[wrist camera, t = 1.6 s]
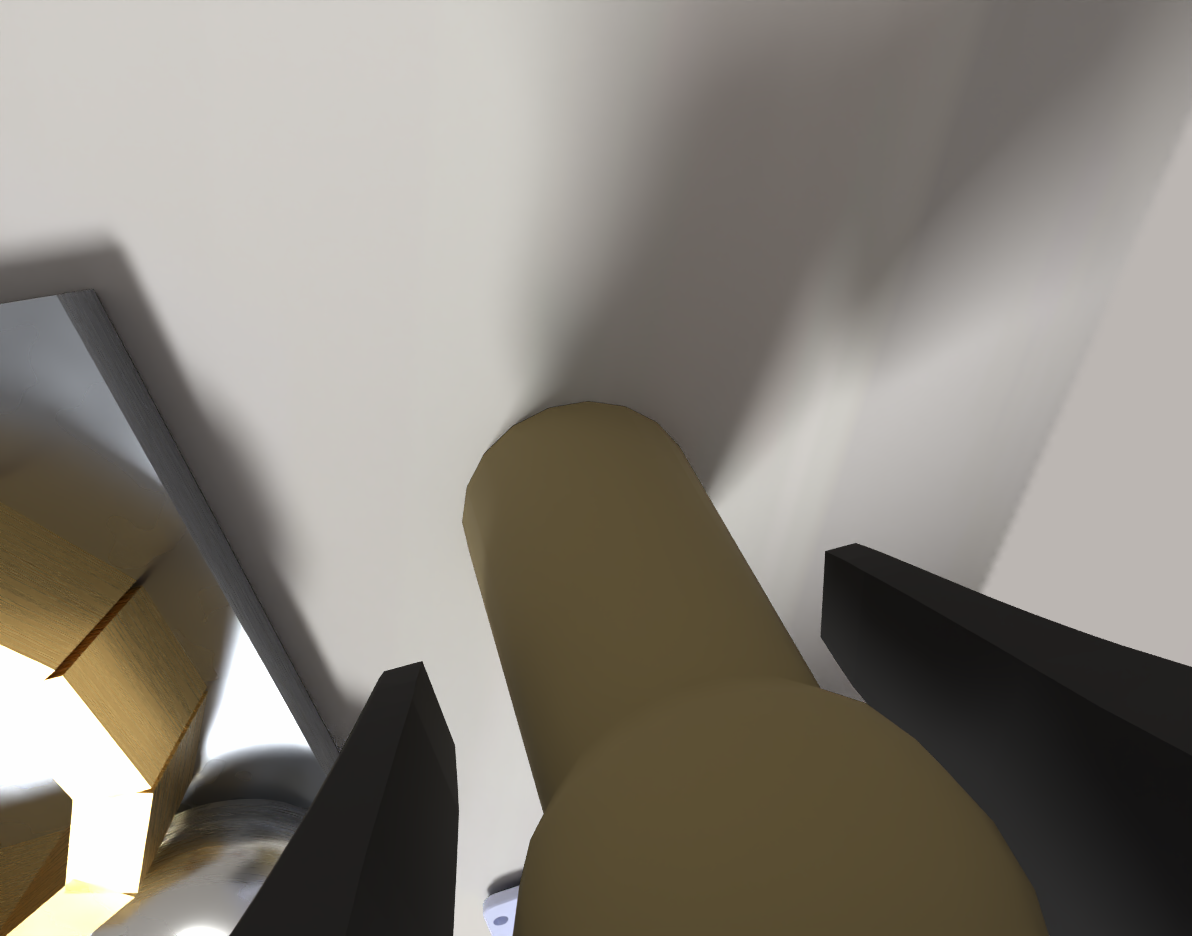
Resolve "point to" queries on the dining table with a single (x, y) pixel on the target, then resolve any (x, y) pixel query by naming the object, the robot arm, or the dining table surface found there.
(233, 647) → the flanged metal plate
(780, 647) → the cork
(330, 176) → the dining table surface
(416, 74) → the dining table surface
